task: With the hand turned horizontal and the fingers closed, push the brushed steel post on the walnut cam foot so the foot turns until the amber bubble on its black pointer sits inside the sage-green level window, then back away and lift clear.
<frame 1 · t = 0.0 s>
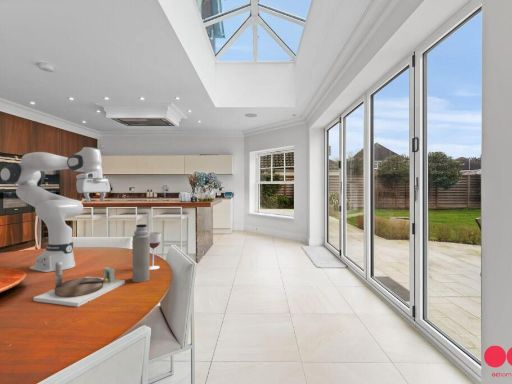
hand: (95, 200, 152), 39 cm above the table, tool pointing down, fingers open, 8 cm apart
cam foot: (82, 274, 122), point 8 cm above the table, hinge at -40.0°
thermos bottle: (140, 280, 140), on the table
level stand: (79, 292, 122), on the table
wineglass: (153, 268, 161), on the table
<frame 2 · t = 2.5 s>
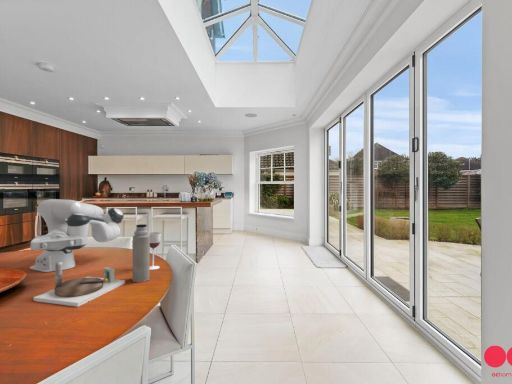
hand: (59, 245, 124), 20 cm above the table, tool horizontal, fingers open, 7 cm apart
nothing on the table moved.
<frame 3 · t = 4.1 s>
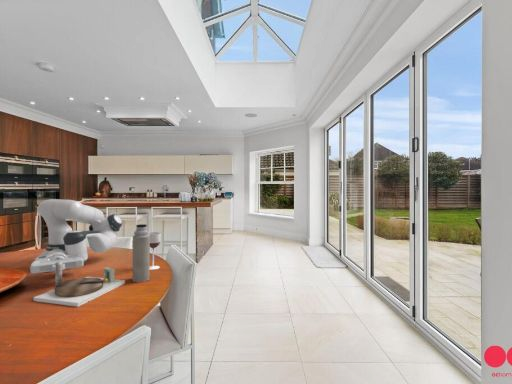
hand: (58, 269, 124), 9 cm above the table, tool horizontal, fingers closed
nothing on the table moved.
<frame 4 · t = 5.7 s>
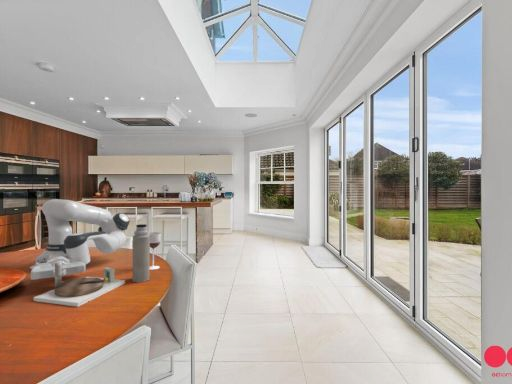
hand: (60, 275, 120), 8 cm above the table, tool horizontal, fingers closed, pressing on cam foot
cam foot: (82, 274, 122), point 8 cm above the table, hinge at -34.8°, touching gripper
everything else where it was.
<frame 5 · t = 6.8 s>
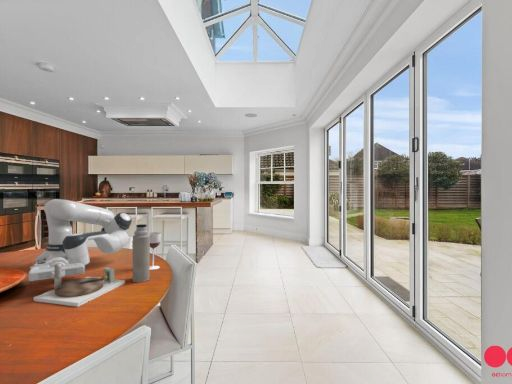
hand: (58, 276, 117), 8 cm above the table, tool horizontal, fingers closed, pressing on cam foot
cam foot: (82, 274, 122), point 8 cm above the table, hinge at -14.8°, touching gripper
everything else where it was.
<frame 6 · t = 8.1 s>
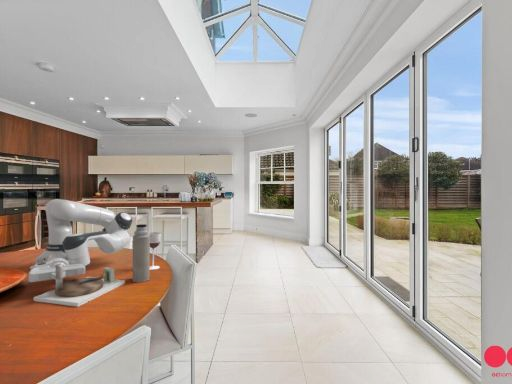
hand: (58, 277, 116), 8 cm above the table, tool horizontal, fingers closed, pressing on cam foot
cam foot: (82, 274, 122), point 8 cm above the table, hinge at -2.7°, touching gripper
everything else where it was.
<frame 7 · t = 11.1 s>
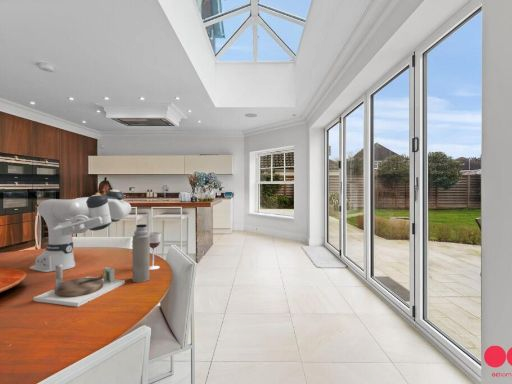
hand: (77, 228, 126), 28 cm above the table, tool horizontal, fingers closed
cam foot: (82, 274, 122), point 8 cm above the table, hinge at -2.7°
everything else where it was.
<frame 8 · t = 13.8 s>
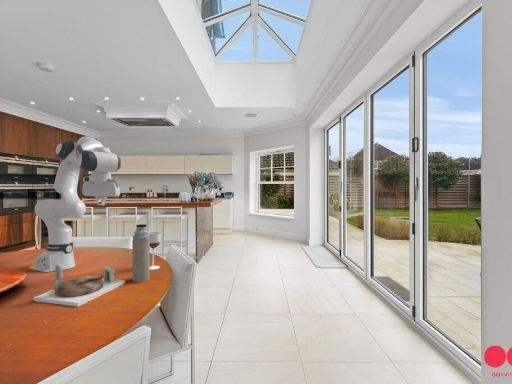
hand: (101, 205, 145), 37 cm above the table, tool pointing down, fingers closed
nothing on the table moved.
at the end: cam foot at -3° (first picture: -40°) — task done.
